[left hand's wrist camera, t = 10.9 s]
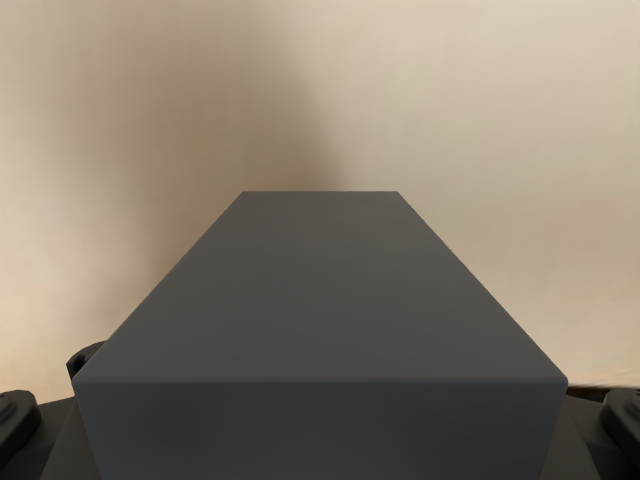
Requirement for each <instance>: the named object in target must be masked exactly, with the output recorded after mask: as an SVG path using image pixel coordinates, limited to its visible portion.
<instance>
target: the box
mask: <svg viewBox="0 0 640 480" xmlns="http://www.w3.org/2000/svg"><path fill="white" fill-rule="evenodd" d="M567 386H568V379H567V377H566V376H565V375H564V374H563V373H562V372H561V371H560V370H559V368H558V367H557V366H556V365H555V364H554V363H553V362H552V361H551V360H550V359H549V358H548V356H547V355H546V354H545V353H544V352H543V351H542V350H541V349H540V348H539V347H538V345H537V344H536V343H535V342H534V341H533V340H532V339H531V338H530V337H529V336H528V334H527V333H526V332H525V331H524V330H523V329H522V328H521V327H520V326H519V325H518V323H517V322H516V321H515V320H514V319H513V318H512V317H511V316H510V315H509V314H508V313H507V311H506V310H505V309H504V308H503V307H502V306H501V305H500V304H499V303H498V302H497V300H496V299H495V298H494V297H493V296H492V295H491V294H490V293H489V292H488V291H487V289H486V288H485V287H484V286H483V285H482V284H481V283H480V282H479V281H478V280H477V279H476V277H475V276H474V275H473V274H472V273H471V272H470V271H469V270H468V269H467V268H466V266H465V265H464V264H463V263H462V262H461V261H460V260H459V259H458V258H457V257H456V255H455V254H454V253H453V252H452V251H451V250H450V249H449V248H448V247H447V246H446V245H445V243H444V242H443V241H442V240H441V239H440V238H439V237H438V236H437V235H436V234H435V232H434V231H433V230H432V229H431V228H430V227H429V226H428V225H427V224H426V223H425V221H424V220H423V219H422V218H421V217H420V216H419V215H418V214H417V213H416V212H415V210H414V209H413V208H412V207H411V206H410V205H409V204H408V203H407V202H406V201H405V200H404V198H403V197H402V196H401V195H400V194H399V193H398V192H242V193H241V194H240V195H239V196H238V198H237V199H236V200H235V201H234V202H233V203H232V204H231V205H230V206H229V207H228V209H227V210H226V211H225V212H224V213H223V214H222V215H221V216H220V217H219V218H218V219H217V221H216V222H215V223H214V224H213V225H212V226H211V227H210V228H209V229H208V230H207V231H206V233H205V234H204V235H203V236H202V237H201V238H200V239H199V240H198V241H197V242H196V244H195V245H194V246H193V247H192V248H191V249H190V250H189V251H188V252H187V253H186V254H185V256H184V257H183V258H182V259H181V260H180V261H179V262H178V263H177V264H176V265H175V267H174V268H173V269H172V270H171V271H170V272H169V273H168V274H167V275H166V276H165V277H164V279H163V280H162V281H161V282H160V283H159V284H158V285H157V286H156V287H155V288H154V290H153V291H152V292H151V293H150V294H149V295H148V296H147V297H146V298H145V299H144V300H143V302H142V303H141V304H140V305H139V306H138V307H137V308H136V309H135V310H134V311H133V313H132V314H131V315H130V316H129V317H128V318H127V319H126V320H125V321H124V322H123V323H122V325H121V326H120V327H119V328H118V329H117V330H116V331H115V332H114V333H113V334H112V335H111V337H110V338H109V339H108V340H107V341H106V342H105V343H104V344H103V345H102V346H101V348H100V349H99V350H98V351H97V352H96V353H95V354H94V355H93V356H92V357H91V358H90V360H89V361H88V362H87V363H86V364H85V365H84V366H83V367H82V368H81V369H80V371H79V372H78V373H77V374H76V375H75V376H74V377H73V379H72V387H73V390H74V393H75V396H76V400H77V403H78V406H79V409H80V413H81V416H82V419H83V422H84V426H85V429H86V432H87V435H88V439H89V442H90V445H91V448H92V452H93V455H94V458H95V461H96V465H97V468H98V471H99V474H100V478H101V480H539V478H540V474H541V471H542V468H543V464H544V461H545V458H546V455H547V451H548V448H549V445H550V442H551V438H552V435H553V432H554V429H555V425H556V422H557V419H558V416H559V412H560V409H561V406H562V402H563V399H564V396H565V393H566V389H567Z"/></svg>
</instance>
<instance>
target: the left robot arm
mask: <svg viewBox="0 0 640 480" xmlns="http://www.w3.org/2000/svg"><path fill="white" fill-rule="evenodd" d="M106 341H107V340H106ZM106 341H102V342H98V343H95V344H92V345H90V346H88V347H86V348H84V349H82V350H80V351H79V352H77V353H76V354H75V355H73V356H72V357H71V358H70V360H69V361H68V362H67V363H66V366H67V369H68V372H69V375H70V379H71V382H72V379H73V377H74V376H75V375H76V374H77V373H78V372H79V371H80V369H81V368H82V367H83V366H84V365H85V364H86V363H87V362H88V361H89V360H90V358H91V357H92V356H93V355H94V354H95V353H96V352H97V351H98V350H99V349H100V348H101V346H102V345H103V344H104V343H105V342H106ZM0 480H101V478H100V474H99V471H98V468H97V465H96V461H95V458H94V455H93V452H92V448H91V445H90V442H89V439H88V435H87V432H86V429H85V426H84V422H83V419H82V416H81V413H80V409H79V406H78V403H77V400H76V396H74V397H70V398H67V399H62V400H58V401H53V402H49V403H45V404H40V405H37V402H36V399H35V396H34V395H33V394H32V393H31V392H29V391H25V390H14V391H8V392H4V393H1V394H0ZM539 480H640V392H639V391H635V390H629V389H624V388H622V389H612V390H611V391H610V392H608V393H607V394H606V397H605V400H604V403H603V404H602V403H598V402H594V401H589V400H585V399H580V398H576V397H572V396H568V395H565V396H564V399H563V402H562V406H561V409H560V412H559V416H558V419H557V422H556V425H555V429H554V432H553V435H552V438H551V442H550V445H549V448H548V451H547V455H546V458H545V461H544V464H543V468H542V471H541V474H540V478H539Z"/></svg>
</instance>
